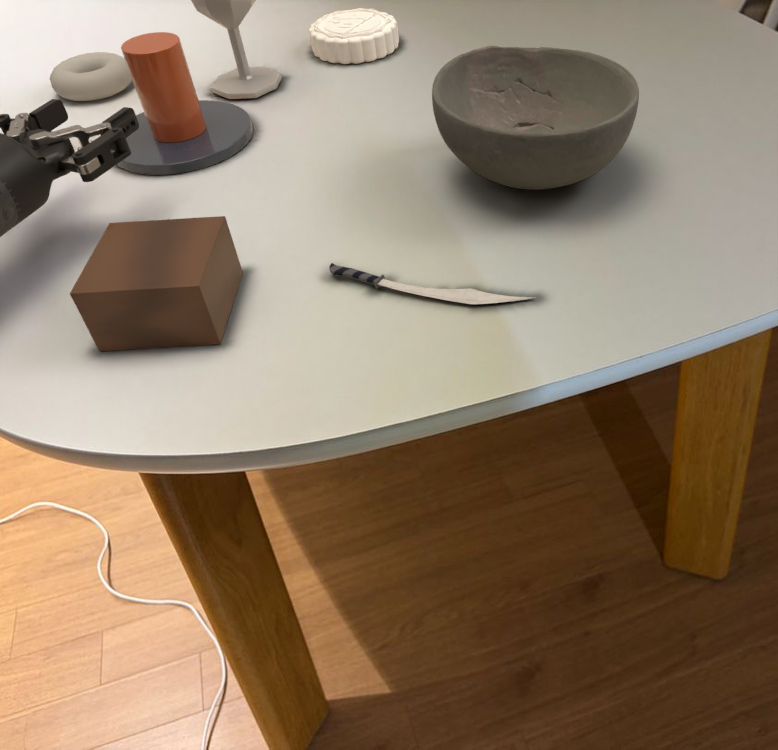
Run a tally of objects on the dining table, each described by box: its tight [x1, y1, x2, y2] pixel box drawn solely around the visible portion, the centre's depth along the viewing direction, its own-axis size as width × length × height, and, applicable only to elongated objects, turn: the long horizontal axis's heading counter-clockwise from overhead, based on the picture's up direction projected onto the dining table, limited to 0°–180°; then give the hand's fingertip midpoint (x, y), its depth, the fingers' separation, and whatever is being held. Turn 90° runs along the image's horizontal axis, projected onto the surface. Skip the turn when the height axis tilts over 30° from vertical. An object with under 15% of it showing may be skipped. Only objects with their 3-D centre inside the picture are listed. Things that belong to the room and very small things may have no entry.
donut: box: [49, 51, 133, 102], centre depth 103 cm, size 10×4×10 cm
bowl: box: [431, 45, 640, 190], centre depth 81 cm, size 20×20×10 cm
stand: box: [69, 215, 244, 352], centre depth 67 cm, size 10×10×6 cm
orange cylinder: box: [120, 31, 206, 143], centre depth 88 cm, size 6×6×10 cm
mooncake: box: [308, 7, 400, 65], centre depth 110 cm, size 12×12×4 cm
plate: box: [112, 99, 254, 176], centre depth 92 cm, size 16×16×1 cm
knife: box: [328, 262, 537, 305], centre depth 70 cm, size 19×2×1 cm, turn 74°
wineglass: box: [190, 0, 283, 100], centre depth 96 cm, size 9×9×21 cm
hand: (97, 112), depth 80 cm, fingers open, 8 cm apart
